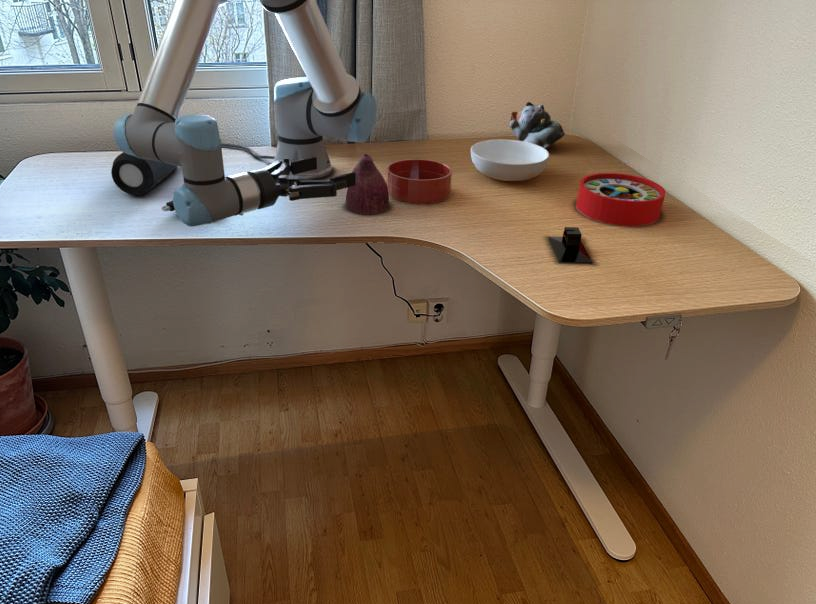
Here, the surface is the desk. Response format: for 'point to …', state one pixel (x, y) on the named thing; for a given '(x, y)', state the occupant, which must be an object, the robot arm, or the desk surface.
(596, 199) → the toy clock
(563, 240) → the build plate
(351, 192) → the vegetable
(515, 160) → the serving bowl
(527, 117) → the lucky cat figurine
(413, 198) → the red round tray
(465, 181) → the desk surface
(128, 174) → the portable speaker
